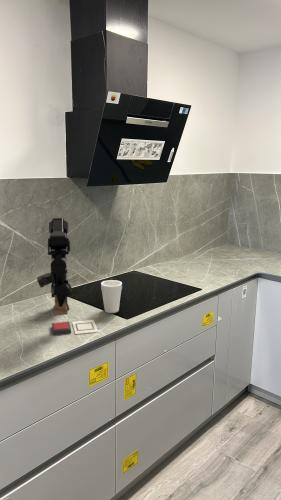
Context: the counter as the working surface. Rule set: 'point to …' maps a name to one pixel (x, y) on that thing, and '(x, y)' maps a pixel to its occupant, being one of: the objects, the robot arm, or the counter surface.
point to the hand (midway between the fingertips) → (60, 304)
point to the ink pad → (61, 328)
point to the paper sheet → (84, 327)
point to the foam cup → (111, 295)
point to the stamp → (60, 308)
